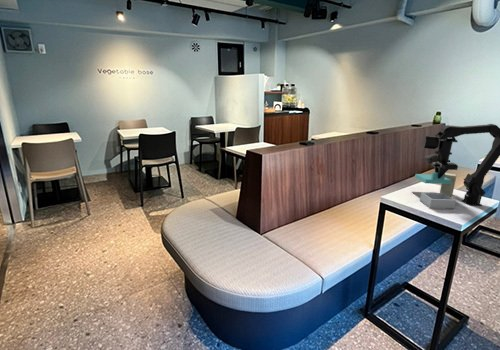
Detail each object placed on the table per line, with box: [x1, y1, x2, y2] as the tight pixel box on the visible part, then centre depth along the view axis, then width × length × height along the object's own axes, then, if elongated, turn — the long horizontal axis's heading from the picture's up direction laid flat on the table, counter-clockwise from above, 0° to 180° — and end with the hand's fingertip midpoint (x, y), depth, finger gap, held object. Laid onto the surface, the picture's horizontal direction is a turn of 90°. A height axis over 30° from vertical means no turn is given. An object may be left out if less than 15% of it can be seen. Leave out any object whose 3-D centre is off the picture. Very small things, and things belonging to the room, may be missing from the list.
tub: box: [419, 191, 457, 210], centre depth 151 cm, size 12×10×5 cm
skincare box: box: [439, 172, 458, 197], centre depth 165 cm, size 6×4×12 cm
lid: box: [414, 172, 451, 185], centre depth 160 cm, size 13×11×6 cm
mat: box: [411, 191, 436, 199], centre depth 163 cm, size 14×11×1 cm
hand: (437, 177), depth 155 cm, fingers closed on lid
